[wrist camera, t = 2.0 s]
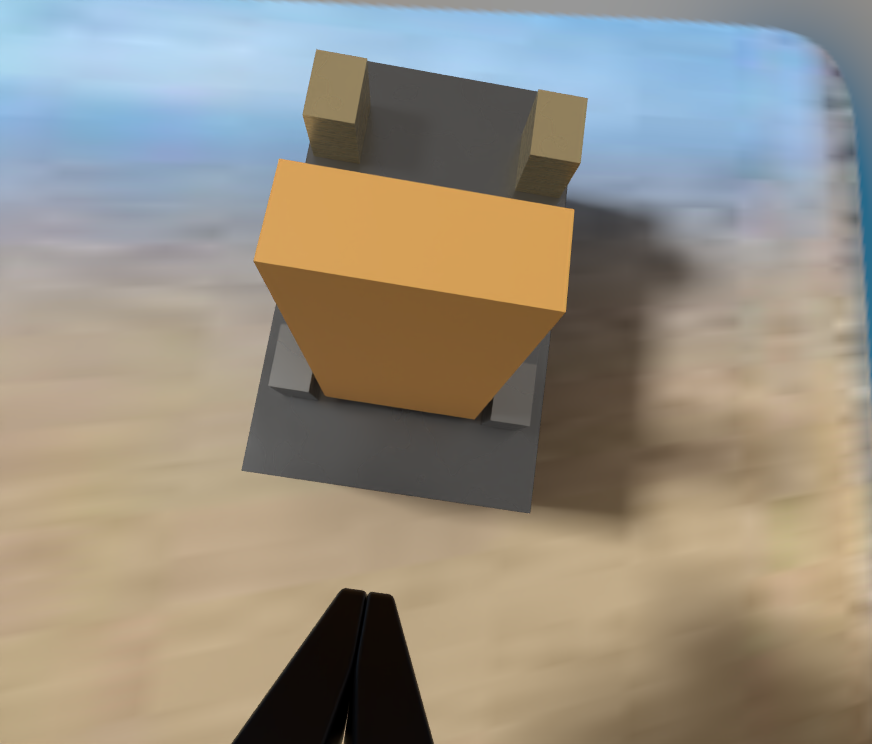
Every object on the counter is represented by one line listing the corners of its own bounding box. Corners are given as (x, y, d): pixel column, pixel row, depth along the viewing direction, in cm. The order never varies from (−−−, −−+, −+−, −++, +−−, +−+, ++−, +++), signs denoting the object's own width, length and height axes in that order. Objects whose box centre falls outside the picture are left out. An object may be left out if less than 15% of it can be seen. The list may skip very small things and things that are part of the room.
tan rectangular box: (477, 372, 16) (470, 423, 15) (338, 350, 16) (328, 402, 15) (574, 209, 8) (565, 311, 7) (278, 158, 7) (253, 261, 7)
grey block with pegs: (493, 501, 21) (549, 520, 13) (285, 469, 21) (218, 471, 13) (532, 191, 24) (599, 52, 16) (345, 158, 23) (319, 1, 15)
